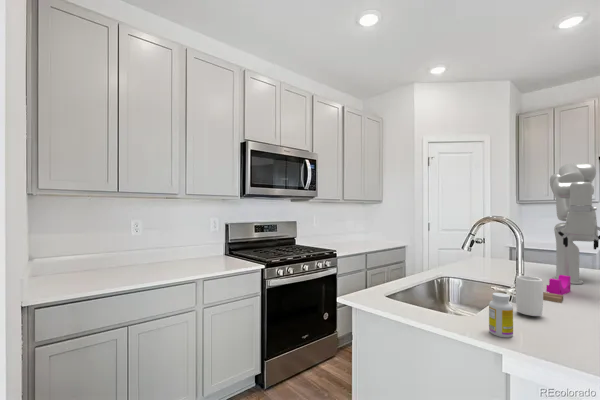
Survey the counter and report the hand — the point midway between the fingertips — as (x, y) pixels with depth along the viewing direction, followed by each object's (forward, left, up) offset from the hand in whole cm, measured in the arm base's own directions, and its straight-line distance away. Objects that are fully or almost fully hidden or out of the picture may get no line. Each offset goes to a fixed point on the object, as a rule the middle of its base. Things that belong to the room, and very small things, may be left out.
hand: (580, 247), depth 141 cm
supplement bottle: (+69, -14, -23) cm, 74 cm away
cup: (+42, -11, -23) cm, 49 cm away
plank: (+11, -14, -23) cm, 29 cm away
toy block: (-4, -9, -23) cm, 25 cm away
